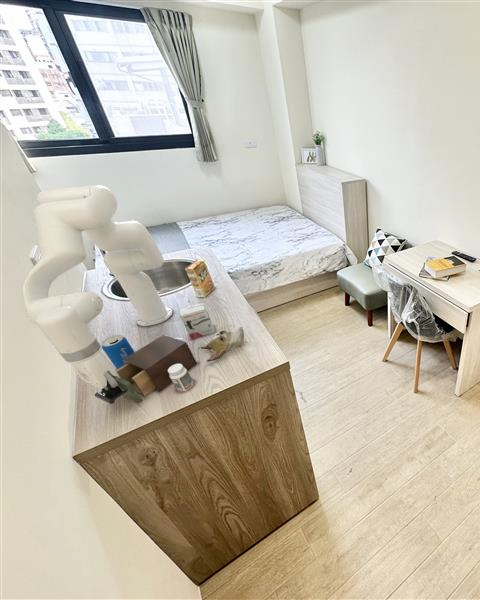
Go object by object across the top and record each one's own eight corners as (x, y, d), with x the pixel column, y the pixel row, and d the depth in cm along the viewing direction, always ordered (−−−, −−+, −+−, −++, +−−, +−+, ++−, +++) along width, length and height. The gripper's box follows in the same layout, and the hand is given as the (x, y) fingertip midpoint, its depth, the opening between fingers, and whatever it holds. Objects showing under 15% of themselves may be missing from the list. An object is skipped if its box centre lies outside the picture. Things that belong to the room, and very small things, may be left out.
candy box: (205, 297, 148) (193, 268, 139) (196, 297, 148) (184, 268, 140) (215, 287, 155) (204, 259, 147) (207, 287, 155) (195, 259, 147)
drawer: (121, 416, 92) (107, 397, 88) (100, 406, 96) (85, 387, 91) (176, 375, 106) (166, 357, 101) (156, 367, 109) (146, 349, 104)
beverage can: (124, 375, 107) (105, 349, 100) (114, 369, 110) (96, 342, 103) (144, 363, 112) (128, 337, 105) (135, 357, 114) (118, 331, 108)
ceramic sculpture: (245, 329, 113) (200, 350, 105) (253, 347, 118) (210, 368, 110) (236, 316, 120) (193, 335, 112) (244, 334, 125) (203, 352, 117)
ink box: (191, 340, 122) (179, 315, 116) (190, 333, 126) (178, 309, 119) (215, 332, 126) (205, 308, 120) (213, 326, 130) (203, 302, 123)
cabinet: (160, 392, 101) (145, 369, 95) (137, 382, 105) (122, 359, 99) (197, 363, 111) (186, 342, 106) (175, 355, 115) (163, 334, 109)
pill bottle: (193, 378, 106) (184, 360, 101) (193, 388, 102) (183, 369, 98) (177, 383, 104) (166, 365, 99) (176, 394, 100) (165, 375, 96)
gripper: (47, 351, 84) (86, 397, 94) (81, 366, 79) (118, 413, 89) (80, 334, 89) (113, 379, 99) (114, 347, 85) (145, 393, 95)
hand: (115, 395), depth 94 cm, fingers closed
